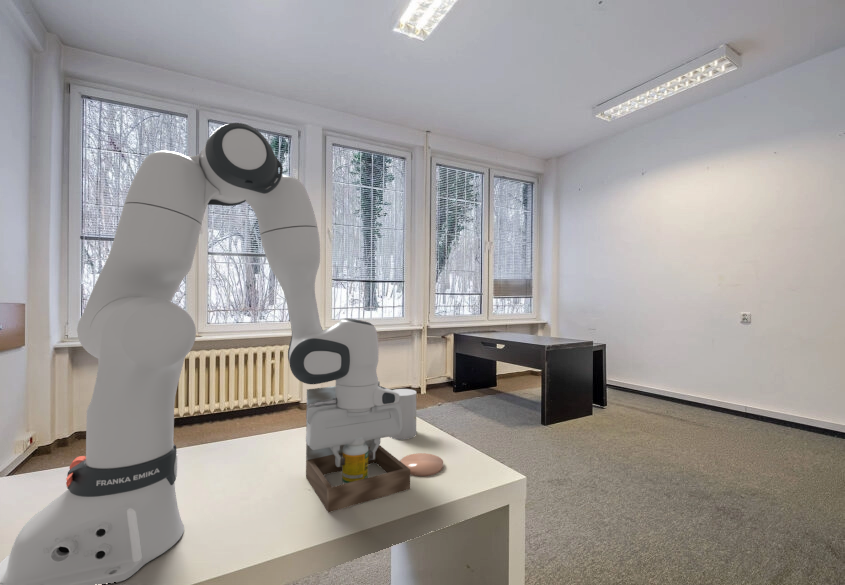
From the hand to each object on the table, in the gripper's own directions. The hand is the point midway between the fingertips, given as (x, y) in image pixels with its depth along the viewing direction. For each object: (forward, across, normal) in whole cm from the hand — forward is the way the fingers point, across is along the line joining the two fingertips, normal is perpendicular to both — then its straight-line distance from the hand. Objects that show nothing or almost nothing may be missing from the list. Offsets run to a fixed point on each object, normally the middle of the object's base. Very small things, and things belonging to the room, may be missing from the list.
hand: (355, 462), depth 80 cm
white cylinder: (+4, +22, +22) cm, 31 cm away
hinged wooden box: (+4, 0, 0) cm, 5 cm away
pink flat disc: (+4, +16, +1) cm, 17 cm away
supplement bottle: (+4, 0, 0) cm, 4 cm away
